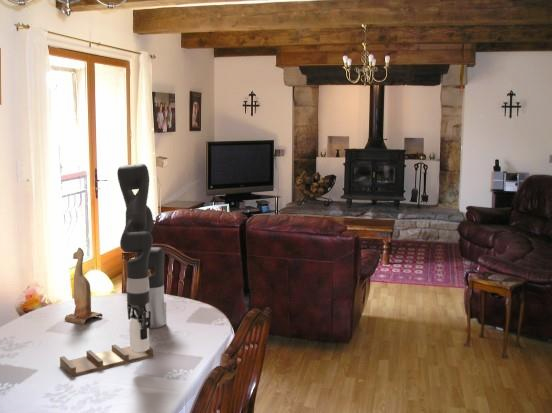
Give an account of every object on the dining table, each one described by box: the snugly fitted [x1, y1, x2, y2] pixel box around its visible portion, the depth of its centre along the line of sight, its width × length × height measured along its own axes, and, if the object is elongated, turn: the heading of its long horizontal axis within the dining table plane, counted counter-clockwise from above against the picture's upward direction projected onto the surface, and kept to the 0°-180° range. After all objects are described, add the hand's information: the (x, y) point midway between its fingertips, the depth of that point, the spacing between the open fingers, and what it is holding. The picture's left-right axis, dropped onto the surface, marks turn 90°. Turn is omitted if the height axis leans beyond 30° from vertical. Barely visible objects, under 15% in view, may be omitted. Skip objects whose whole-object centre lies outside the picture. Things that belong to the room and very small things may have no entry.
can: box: [128, 315, 150, 353], centre depth 211 cm, size 6×6×12 cm
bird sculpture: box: [64, 247, 103, 326], centre depth 262 cm, size 11×12×32 cm
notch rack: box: [59, 344, 154, 377], centre depth 220 cm, size 30×12×3 cm, turn 127°
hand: (139, 335), depth 211 cm, fingers closed on can, 6 cm apart
